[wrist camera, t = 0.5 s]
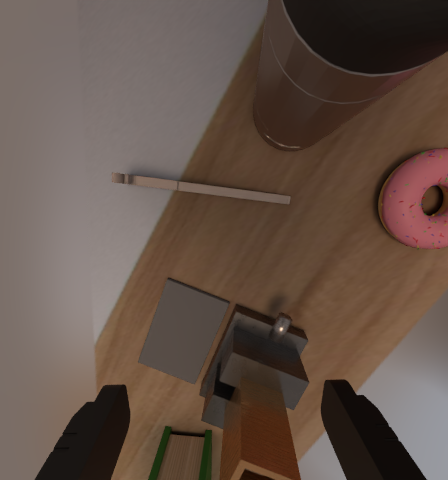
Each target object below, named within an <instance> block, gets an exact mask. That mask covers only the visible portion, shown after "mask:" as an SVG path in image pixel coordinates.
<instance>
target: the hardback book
mask: <svg viewBox="0 0 448 480" xmlns="http://www.w3.org/2000/svg"><path fill="white" fill-rule="evenodd" d="M211 454H212V430H206V432H205V438H204V437H193V436H183V435H172V432H171V427H169V426H166V427H165V430H164V433H163V436H162V439H161V442H160V445H159V448H158V451H157V454H156V457H155V460H154V463H153V466H152V470H151V473H150V476H149V479H148V480H211Z"/></svg>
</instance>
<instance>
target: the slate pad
mask: <svg viewBox="0 0 448 480" xmlns="http://www.w3.org/2000/svg"><path fill="white" fill-rule="evenodd" d="M228 306H229V301H226V300H224V299H221V298H219V297H216V296H214V295H211V294H209V293H206V292H204V291H201V290H198V289H196V288H193V287H191V286H188V285H186V284H183V283H181V282H178V281H176V280H173V279H171V278H168V279H167V281H166V284H165V287H164V290H163V292H162V295H161V298H160V301H159V304H158V307H157V309H156V312H155V315H154V318H153V321H152V324H151V326H150V329H149V332H148V335H147V338H146V341H145V343H144V346H143V349H142V352H141V355H140V357H139V360H138V362H139V363H141V364H144V365H146V366H149V367H152V368H154V369H157V370H159V371H162V372H164V373H167V374H169V375H172V376H174V377H177V378H180V379H182V380H185V381H187V382H190V383H192V384H195V382H196V380H197V378H198V375H199V373H200V371H201V368H202V366H203V364H204V362H205V359H206V357H207V355H208V352H209V350H210V348H211V345H212V343H213V341H214V338H215V336H216V334H217V331H218V329H219V327H220V324H221V322H222V320H223V317H224V315H225V313H226V310H227V308H228Z"/></svg>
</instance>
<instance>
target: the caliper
mask: <svg viewBox="0 0 448 480" xmlns="http://www.w3.org/2000/svg"><path fill="white" fill-rule="evenodd" d="M112 182H114V183H123V184H131V185H139V186H147V187H155V188H163V189H171V190H179V191H187V192H195V193H203V194H211V195H218V196H226V197H234V198H242V199H250V200H258V201H266V202H274V203H282V204H290V198H291V196H284V195H278V194H270V193H262V192H255V191H247V190H240V189H232V188H225V187H217V186H209V185H202V184H194V183H187V182H179V181H172V180H165V179H157V178H150V177H142V176H134V175H129V174H120V173H112Z"/></svg>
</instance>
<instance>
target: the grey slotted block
mask: <svg viewBox="0 0 448 480" xmlns="http://www.w3.org/2000/svg"><path fill="white" fill-rule="evenodd" d="M291 322H292V318H291V317H290V316H288V315H287V314H285V313H279V315H278V317H277V319H276V320H274V319H272V318H269V317H267V316H264V315H262V314H259V313H257V312H254V311H252V310H249V309H247V308H244V307H242V306H239V305H236V306H235V309H234V311H233V313H232V315H231V318H230V320H229V322H228V325H227V327H226V329H225V331H224V334H223V336H222V338H221V341H220V343H219V345H218V347H217V350H216V352H215V354H214V356H213V359H212V361H211V363H210V366H209V368H208V370H207V372H206V375H205V377H204V379H203V382H202V384H201V389H200V394H199V395H200V396H203V397H205V402H204V408H203V413H202V419H201V421H204V422H206V423H209V424H211V425H214V426H217V427H219V428H222V429H223V427H224V413H225V409H226V407H227V405H228V403H229V401H230V399H231V397H232V395H233V392H234V390H235V388H236V386H237V384H238V382H239V380H240V378H241V377H242V378H245V379H247V380H250V381H252V382H255V383H257V384H260V385H263V386H265V387H268V388H270V389H273V390H275V391H278V392H280V393H283V397H284V402H285V407H287V408H290V409H292V410H294V409H295V407H296V405H297V403H298V402H299V400H300V398H301V396H302V394H303V393H304V391H305V389H306V387H307V386H308V384H309V380H308V378H307V375H306V372H305V370H304V367H303V364H302V361H301V359H300V355H301V353H302V351H303V349H304V347H305V345H306V343H307V342H308V339H307V337H306V335H305V332H304V331H302V330H300V329H297V328H295V327H292V326H290V324H291ZM245 469H246V470H249V469H247V468H245ZM249 471H251V472H254V471H252V470H249ZM254 473H257V472H254ZM257 474H259V475H262V474H260V473H257ZM262 476H263V475H262Z"/></svg>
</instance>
